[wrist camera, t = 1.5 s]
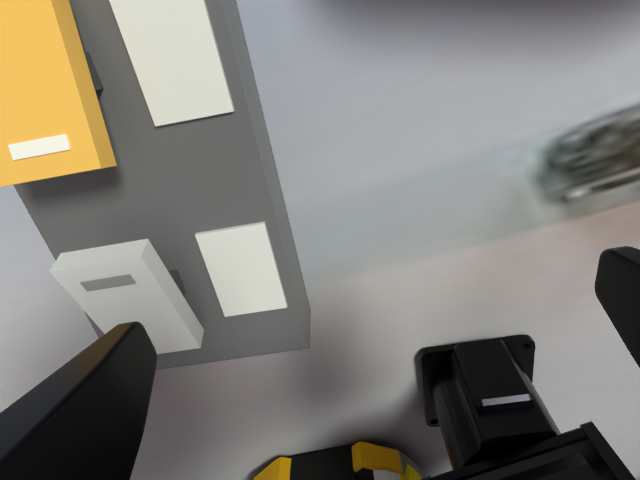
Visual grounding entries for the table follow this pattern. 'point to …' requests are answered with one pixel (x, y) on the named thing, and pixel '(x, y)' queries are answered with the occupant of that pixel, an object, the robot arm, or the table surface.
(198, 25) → the rocker switch panel
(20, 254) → the table surface
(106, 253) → the grey rocker
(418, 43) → the table surface
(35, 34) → the block
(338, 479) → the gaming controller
